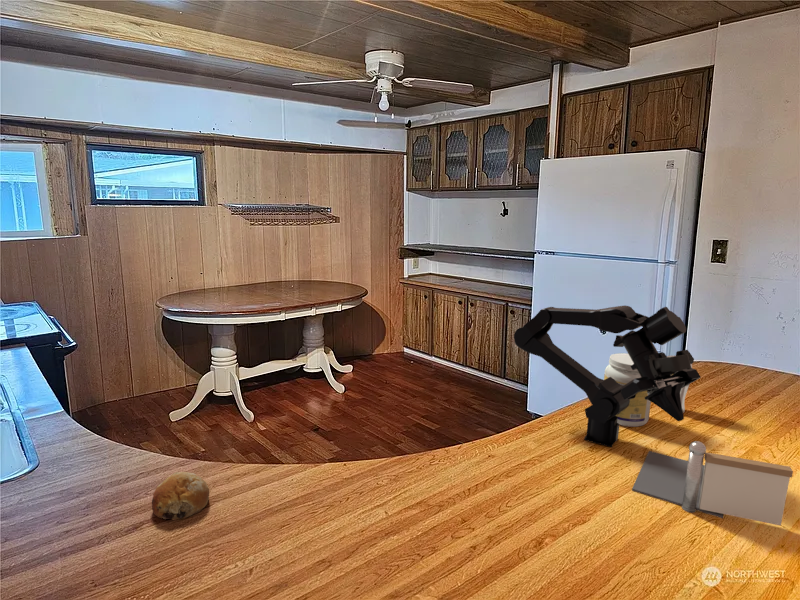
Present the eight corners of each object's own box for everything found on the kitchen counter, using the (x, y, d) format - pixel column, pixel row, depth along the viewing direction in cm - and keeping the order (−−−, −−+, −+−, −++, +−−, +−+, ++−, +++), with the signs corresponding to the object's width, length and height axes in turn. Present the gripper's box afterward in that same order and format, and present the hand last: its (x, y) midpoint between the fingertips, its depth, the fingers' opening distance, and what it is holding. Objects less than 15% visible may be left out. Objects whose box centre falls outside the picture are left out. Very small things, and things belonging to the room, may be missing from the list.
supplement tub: (610, 405, 150) (616, 349, 147) (655, 418, 142) (662, 359, 138) (592, 417, 141) (598, 358, 138) (638, 432, 133) (646, 369, 130)
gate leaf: (698, 509, 99) (706, 456, 97) (697, 504, 101) (705, 452, 98) (782, 526, 94) (793, 471, 92) (779, 521, 96) (789, 466, 94)
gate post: (690, 514, 99) (700, 446, 96) (677, 506, 101) (686, 440, 98) (700, 511, 100) (710, 443, 97) (686, 503, 102) (696, 437, 100)
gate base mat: (631, 490, 107) (632, 488, 106) (648, 452, 123) (649, 450, 123) (723, 518, 98) (723, 516, 98) (728, 473, 114) (728, 471, 114)
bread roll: (215, 519, 100) (225, 476, 102) (179, 526, 91) (190, 479, 93) (174, 508, 103) (184, 466, 105) (135, 514, 94) (146, 468, 96)
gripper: (637, 342, 108) (678, 413, 101) (698, 333, 116) (740, 398, 108) (605, 366, 117) (639, 433, 109) (663, 356, 124) (699, 418, 117)
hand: (681, 420), depth 111 cm, fingers closed
